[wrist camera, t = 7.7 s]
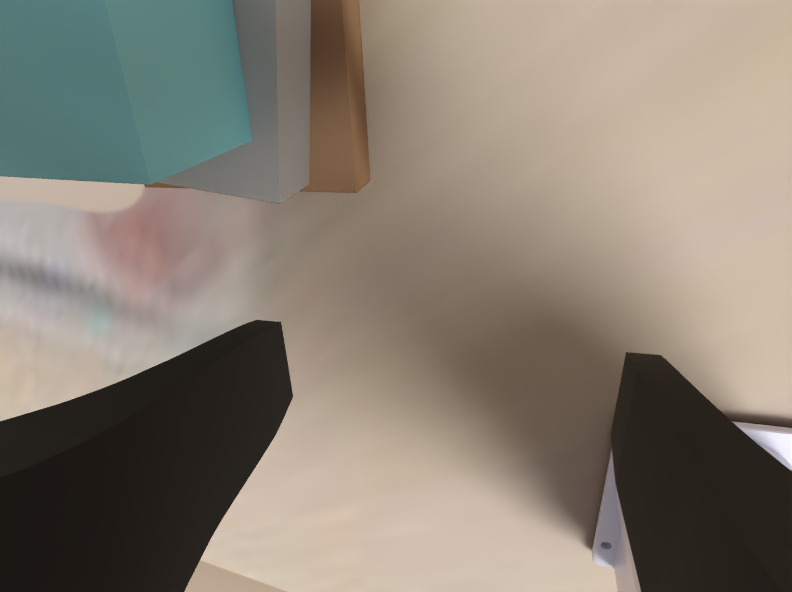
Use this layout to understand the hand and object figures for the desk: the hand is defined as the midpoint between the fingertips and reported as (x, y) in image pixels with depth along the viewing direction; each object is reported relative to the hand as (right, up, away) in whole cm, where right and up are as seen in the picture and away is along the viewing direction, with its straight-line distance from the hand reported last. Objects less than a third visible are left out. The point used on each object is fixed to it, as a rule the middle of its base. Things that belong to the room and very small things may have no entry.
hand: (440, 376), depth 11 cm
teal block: (-8, +9, +5) cm, 13 cm away
